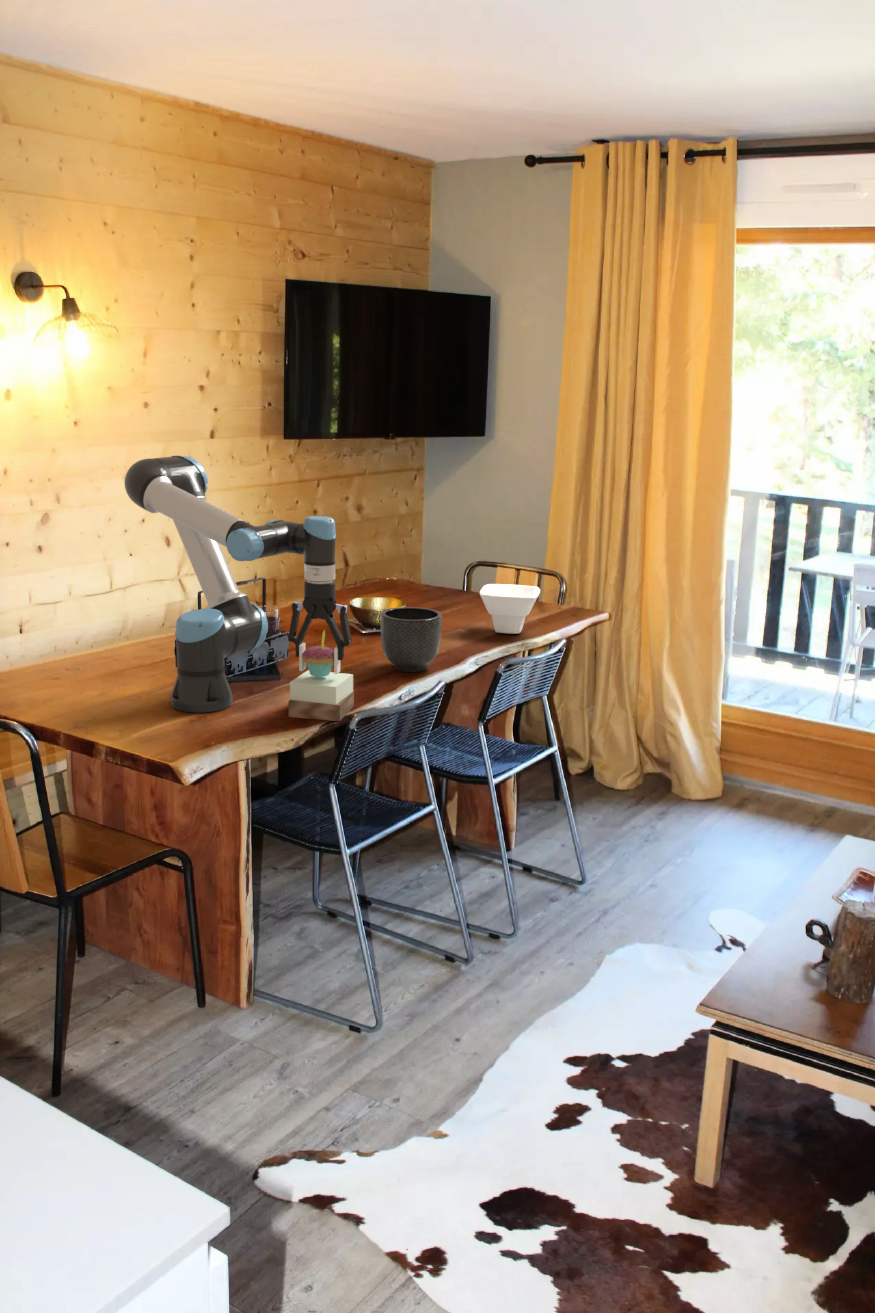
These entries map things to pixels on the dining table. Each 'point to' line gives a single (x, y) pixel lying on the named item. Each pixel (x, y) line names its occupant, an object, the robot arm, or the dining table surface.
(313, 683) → the tower top block
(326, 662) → the cupcake
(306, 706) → the tower base block
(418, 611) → the planter
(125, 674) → the dining table surface
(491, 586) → the bowl
